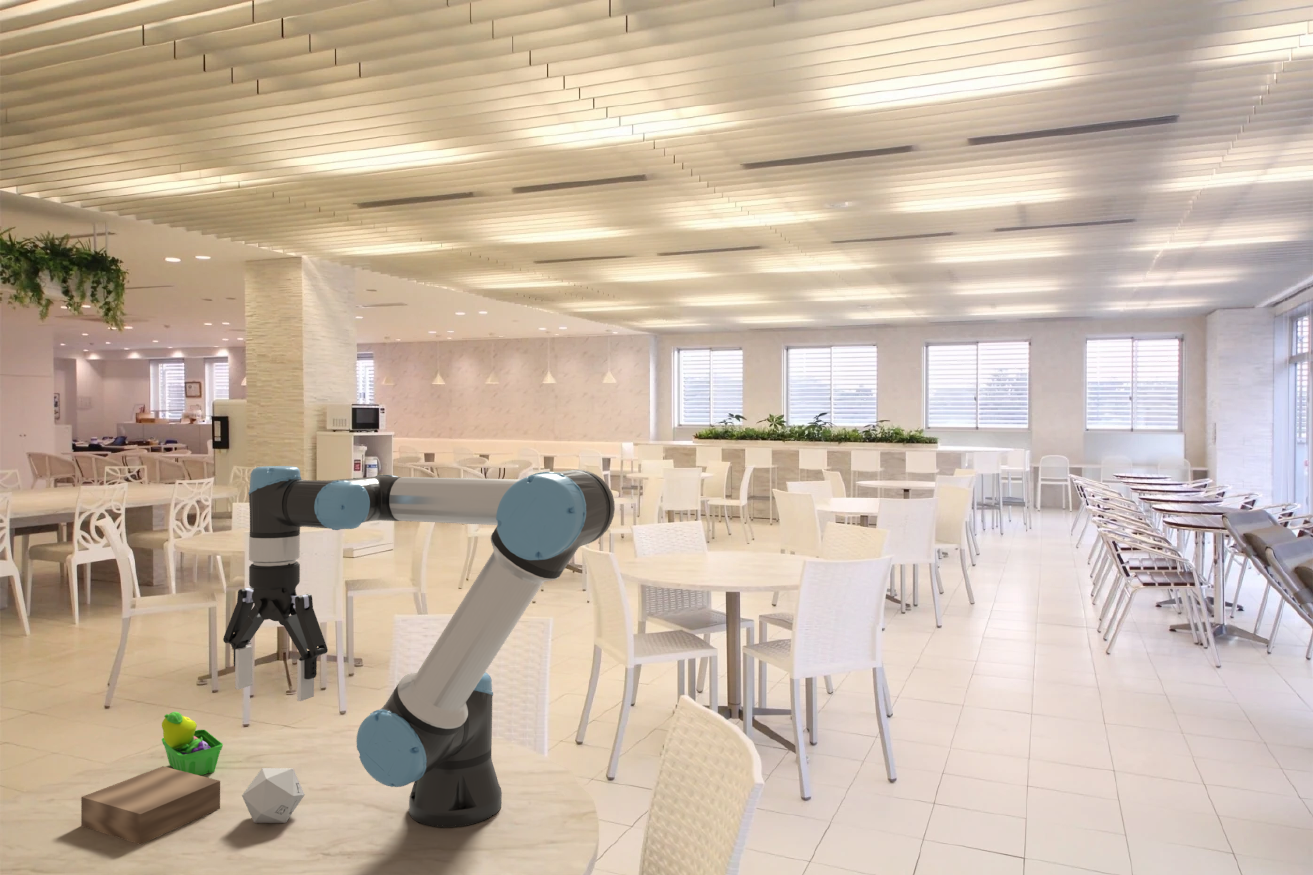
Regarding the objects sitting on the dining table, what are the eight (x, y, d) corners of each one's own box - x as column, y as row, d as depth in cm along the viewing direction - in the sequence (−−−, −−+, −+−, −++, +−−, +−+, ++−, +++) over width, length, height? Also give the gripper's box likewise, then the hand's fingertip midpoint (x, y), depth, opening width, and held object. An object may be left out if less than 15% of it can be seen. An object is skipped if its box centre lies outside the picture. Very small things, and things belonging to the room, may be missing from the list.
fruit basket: (224, 772, 162) (225, 710, 162) (171, 785, 156) (171, 721, 156) (203, 754, 170) (204, 696, 170) (152, 767, 164) (152, 706, 164)
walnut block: (220, 810, 147) (220, 780, 147) (140, 846, 134) (140, 814, 134) (162, 794, 153) (163, 766, 153) (81, 828, 140) (81, 796, 140)
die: (264, 840, 137) (304, 783, 140) (222, 808, 139) (262, 753, 142) (284, 835, 145) (322, 782, 148) (244, 805, 147) (282, 753, 149)
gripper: (351, 564, 141) (350, 696, 142) (238, 553, 151) (238, 676, 152) (315, 571, 134) (314, 710, 135) (200, 559, 144) (199, 688, 145)
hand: (274, 692), depth 143 cm, fingers open, 13 cm apart
